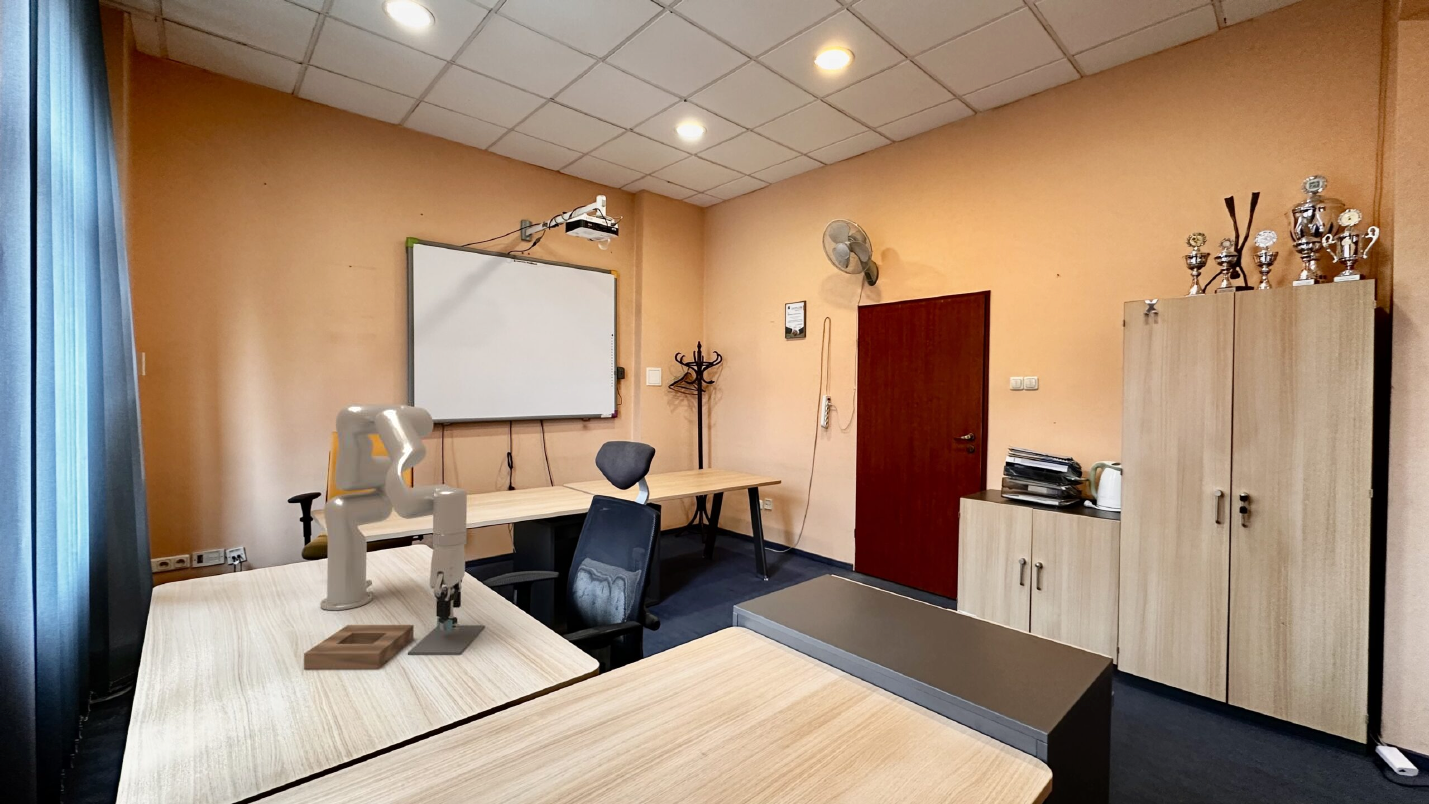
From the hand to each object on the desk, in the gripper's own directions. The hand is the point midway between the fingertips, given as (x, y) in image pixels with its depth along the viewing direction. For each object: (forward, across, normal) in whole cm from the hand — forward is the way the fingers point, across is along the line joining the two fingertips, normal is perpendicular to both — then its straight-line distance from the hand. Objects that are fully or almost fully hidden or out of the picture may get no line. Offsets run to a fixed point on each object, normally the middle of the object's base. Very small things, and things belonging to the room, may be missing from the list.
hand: (448, 611), depth 142 cm
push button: (+5, 0, 0) cm, 5 cm away
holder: (+7, +7, -17) cm, 20 cm away
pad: (+7, 0, 0) cm, 7 cm away
